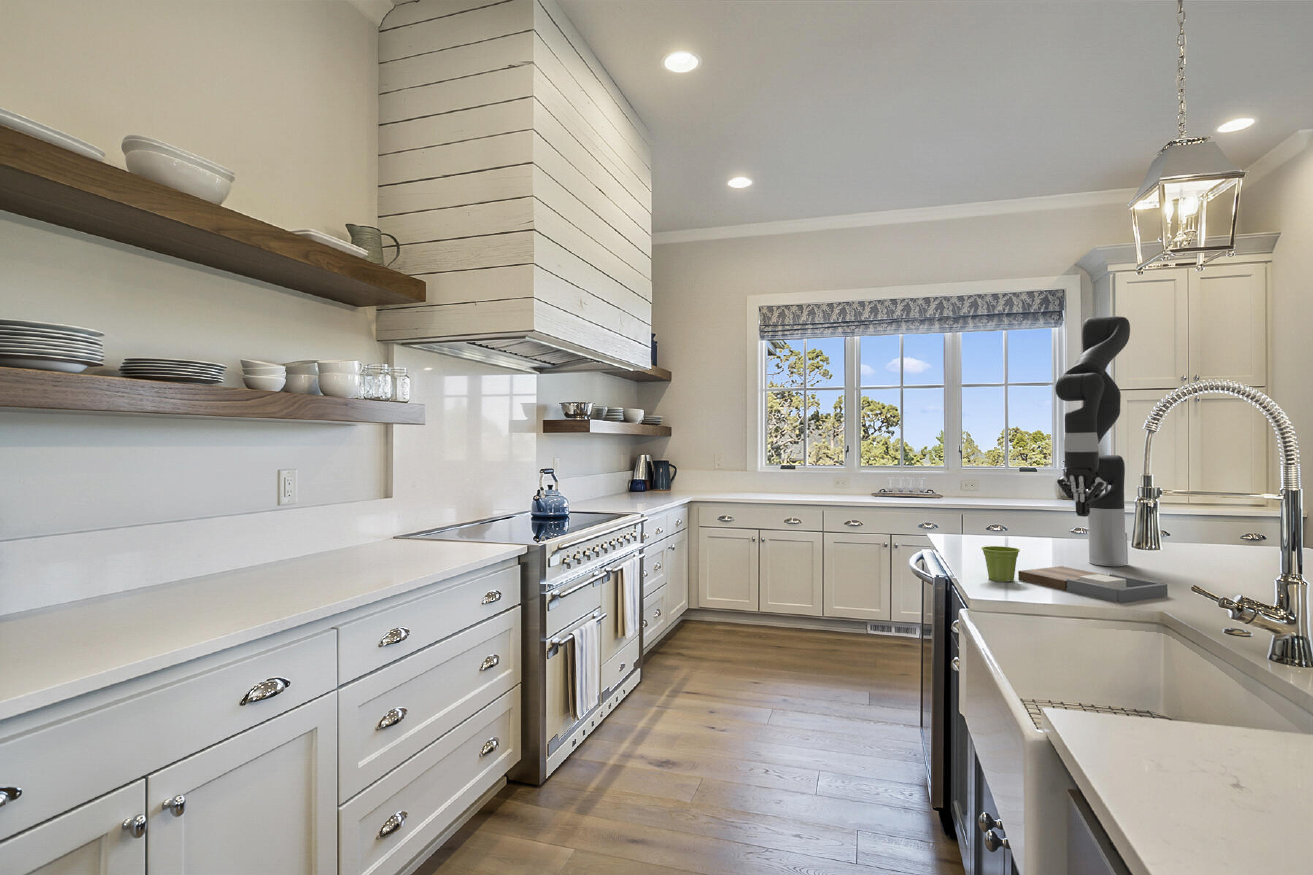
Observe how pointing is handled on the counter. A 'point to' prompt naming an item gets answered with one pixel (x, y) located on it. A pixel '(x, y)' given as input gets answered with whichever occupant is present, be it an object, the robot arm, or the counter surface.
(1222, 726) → the counter surface
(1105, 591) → the tray
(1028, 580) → the brown square board
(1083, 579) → the tile
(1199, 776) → the counter surface
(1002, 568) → the plant pot
